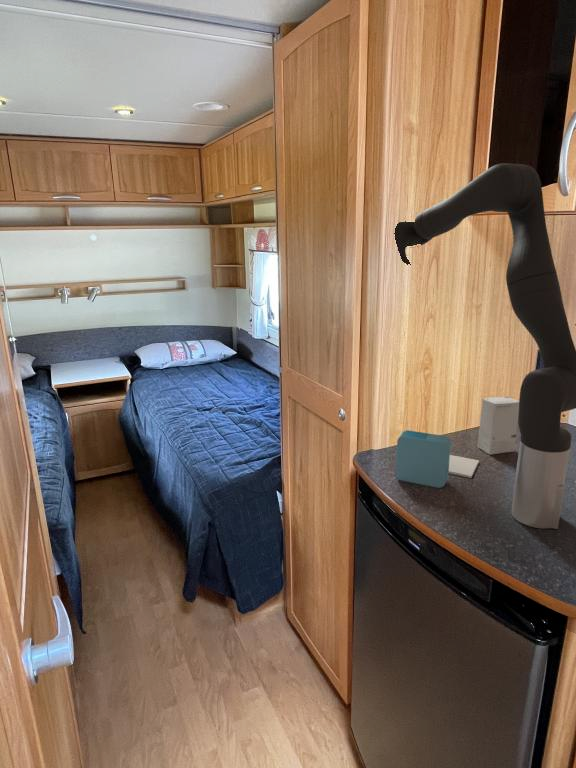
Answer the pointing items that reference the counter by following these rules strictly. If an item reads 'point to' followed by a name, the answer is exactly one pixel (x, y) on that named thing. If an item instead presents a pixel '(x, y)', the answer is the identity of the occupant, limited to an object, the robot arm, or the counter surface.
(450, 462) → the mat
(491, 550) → the counter surface
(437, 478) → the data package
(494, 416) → the skincare box
